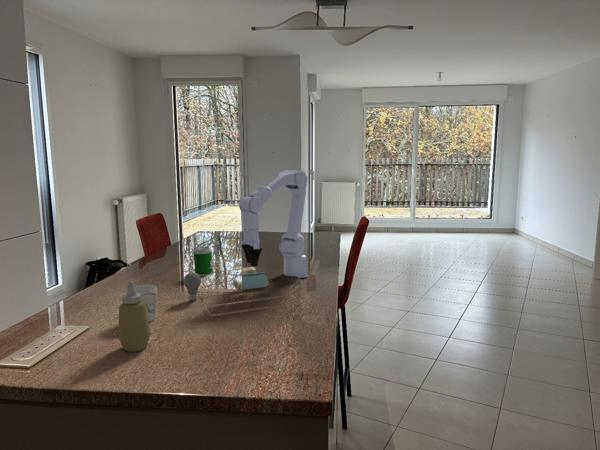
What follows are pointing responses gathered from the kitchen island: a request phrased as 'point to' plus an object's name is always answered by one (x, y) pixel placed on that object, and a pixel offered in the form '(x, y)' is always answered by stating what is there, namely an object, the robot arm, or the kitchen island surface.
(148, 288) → the mug
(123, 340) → the squeeze bottle
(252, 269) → the beige rectangular block
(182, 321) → the kitchen island surface
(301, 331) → the kitchen island surface
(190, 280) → the light bulb
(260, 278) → the panel
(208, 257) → the soda can
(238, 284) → the bed
